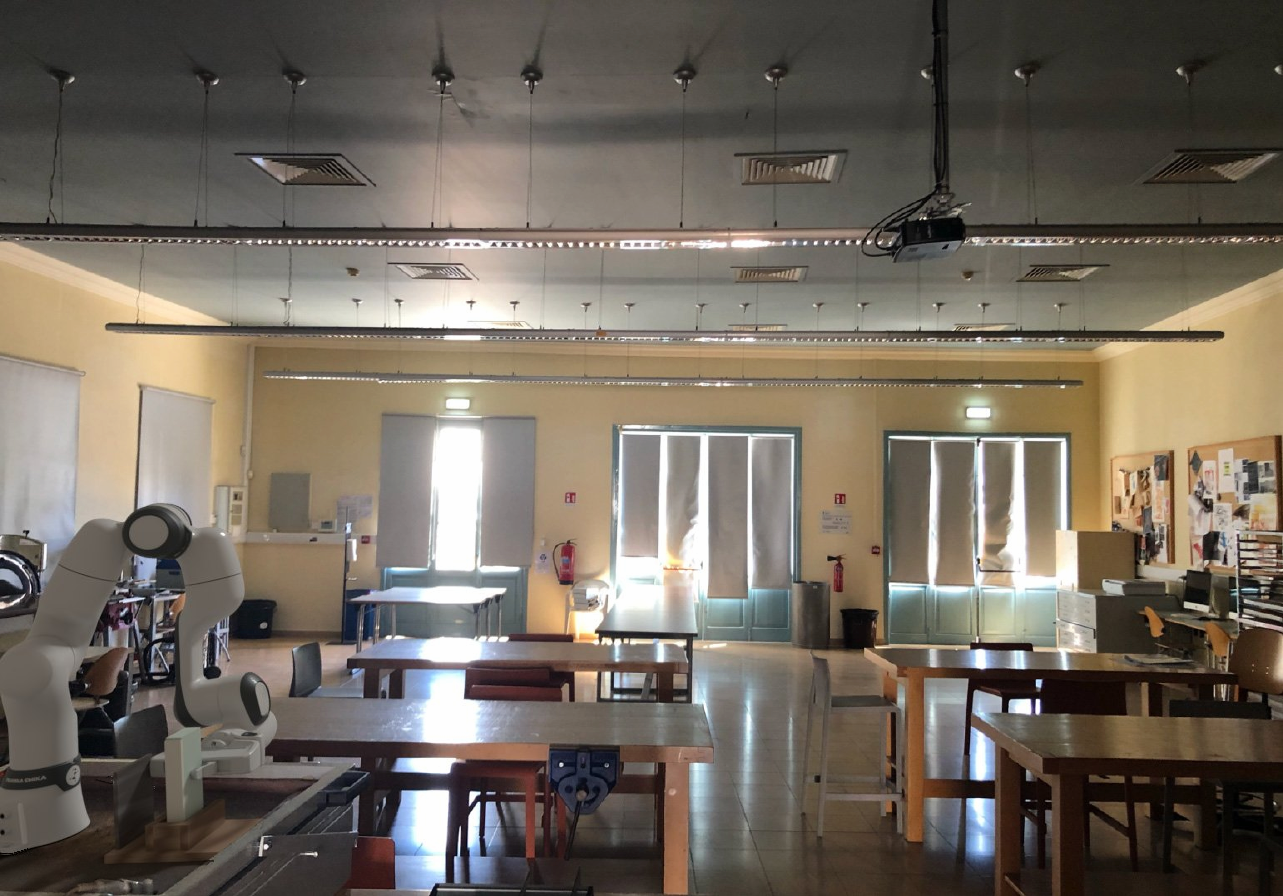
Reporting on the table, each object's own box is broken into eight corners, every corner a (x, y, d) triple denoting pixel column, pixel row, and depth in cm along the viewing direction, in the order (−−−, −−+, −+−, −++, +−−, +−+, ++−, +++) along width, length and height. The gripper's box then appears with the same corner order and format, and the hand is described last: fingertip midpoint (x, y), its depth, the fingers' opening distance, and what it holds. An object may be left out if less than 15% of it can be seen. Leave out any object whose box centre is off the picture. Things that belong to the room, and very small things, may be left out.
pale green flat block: (167, 836, 150) (164, 738, 151) (188, 821, 157) (185, 727, 157) (184, 836, 150) (180, 738, 150) (204, 821, 156) (200, 727, 157)
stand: (104, 863, 147) (101, 776, 147) (154, 829, 161) (151, 750, 161) (223, 860, 146) (220, 772, 146) (263, 826, 160) (260, 746, 160)
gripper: (173, 736, 167) (127, 761, 153) (270, 733, 166) (233, 757, 152) (174, 767, 167) (129, 794, 153) (272, 764, 166) (235, 791, 152)
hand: (182, 776), depth 153 cm, fingers closed on pale green flat block, 3 cm apart
